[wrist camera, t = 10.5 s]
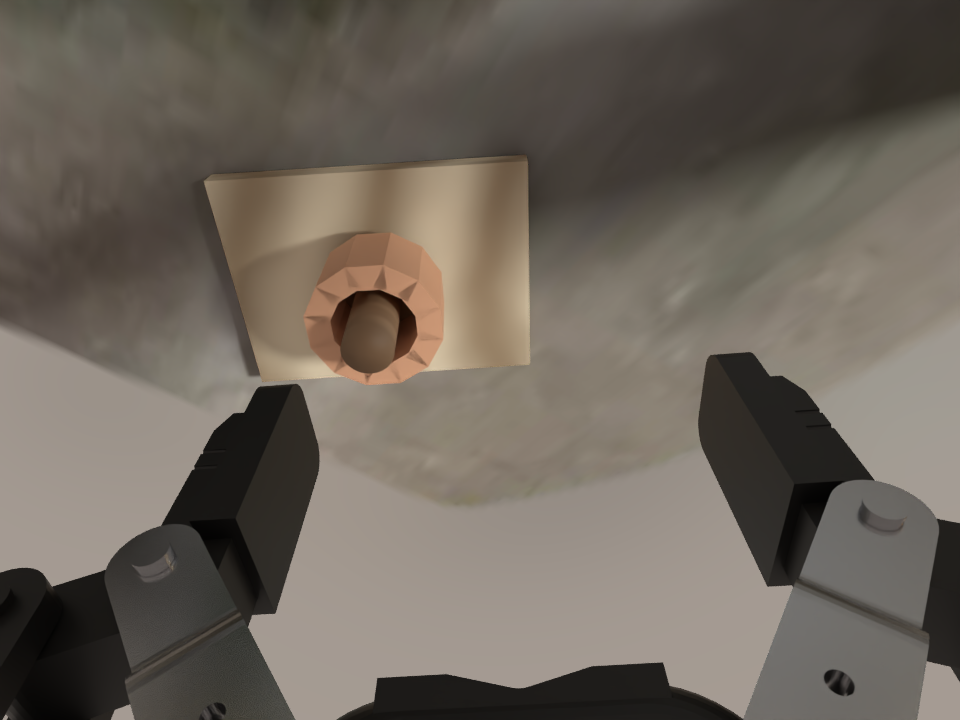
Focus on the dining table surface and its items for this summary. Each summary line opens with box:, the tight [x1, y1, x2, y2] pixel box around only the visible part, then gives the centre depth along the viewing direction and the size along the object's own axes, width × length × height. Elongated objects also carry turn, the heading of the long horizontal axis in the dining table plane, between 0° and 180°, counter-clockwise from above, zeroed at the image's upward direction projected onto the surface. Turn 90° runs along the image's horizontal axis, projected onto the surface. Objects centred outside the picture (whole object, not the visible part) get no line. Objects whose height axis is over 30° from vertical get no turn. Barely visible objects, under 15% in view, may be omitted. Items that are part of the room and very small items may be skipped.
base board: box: [204, 155, 530, 382], centre depth 34 cm, size 16×12×1 cm
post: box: [340, 290, 413, 374], centre depth 31 cm, size 5×5×7 cm
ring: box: [303, 232, 444, 385], centre depth 31 cm, size 6×6×4 cm
